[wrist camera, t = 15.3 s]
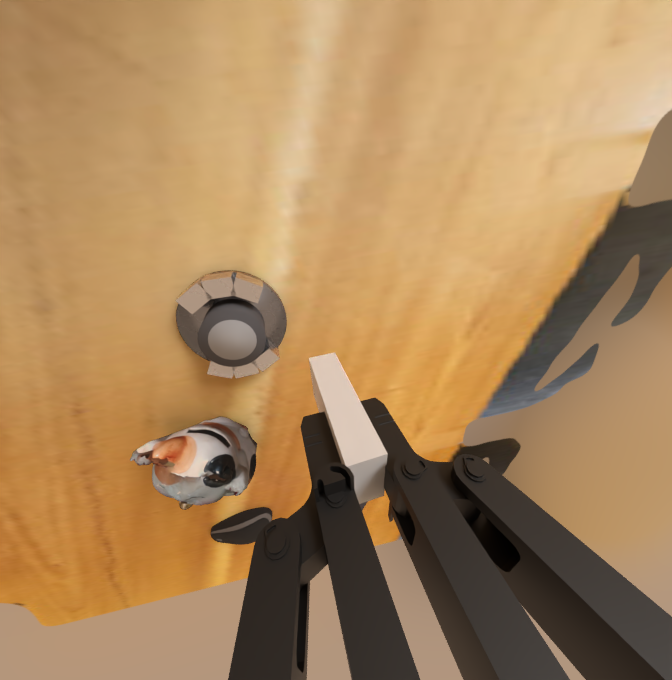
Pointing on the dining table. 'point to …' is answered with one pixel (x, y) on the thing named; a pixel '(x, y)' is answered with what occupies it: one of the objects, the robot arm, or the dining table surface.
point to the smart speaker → (232, 333)
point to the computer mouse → (242, 526)
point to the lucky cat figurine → (201, 462)
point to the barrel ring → (232, 287)
